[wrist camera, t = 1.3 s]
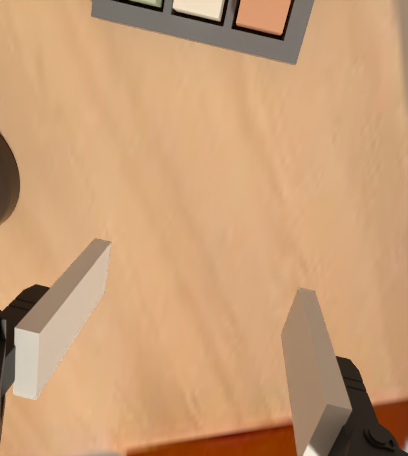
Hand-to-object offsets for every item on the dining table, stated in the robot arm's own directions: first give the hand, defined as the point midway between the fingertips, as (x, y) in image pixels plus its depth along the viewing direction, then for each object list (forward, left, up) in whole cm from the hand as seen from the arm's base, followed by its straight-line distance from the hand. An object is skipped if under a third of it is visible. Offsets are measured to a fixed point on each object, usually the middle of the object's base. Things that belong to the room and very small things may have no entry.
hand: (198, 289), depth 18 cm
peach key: (0, +15, -24) cm, 28 cm away
